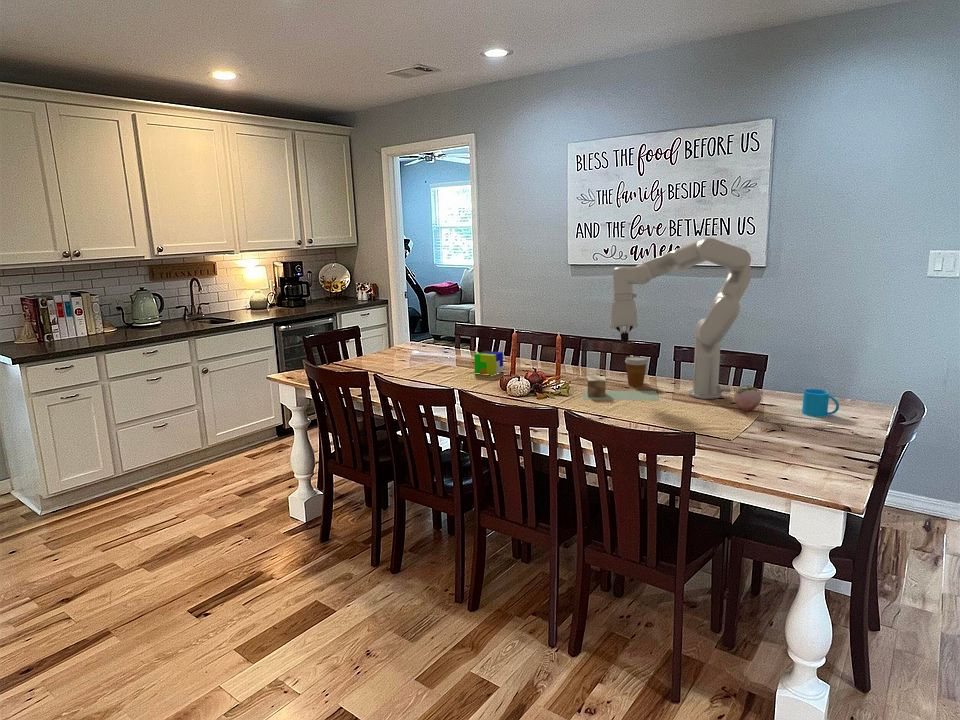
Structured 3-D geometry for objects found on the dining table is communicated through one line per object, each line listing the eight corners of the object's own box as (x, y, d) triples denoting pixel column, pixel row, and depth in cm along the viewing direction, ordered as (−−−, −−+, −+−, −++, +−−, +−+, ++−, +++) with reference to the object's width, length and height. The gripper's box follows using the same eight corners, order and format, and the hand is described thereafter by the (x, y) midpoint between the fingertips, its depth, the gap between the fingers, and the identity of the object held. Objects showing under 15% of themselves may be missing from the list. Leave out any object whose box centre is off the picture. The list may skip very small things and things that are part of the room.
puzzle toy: (503, 372, 311) (502, 352, 309) (492, 376, 302) (492, 355, 301) (485, 370, 316) (485, 350, 314) (474, 374, 308) (474, 354, 306)
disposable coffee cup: (624, 387, 276) (624, 360, 273) (624, 382, 285) (625, 356, 283) (647, 388, 274) (647, 360, 271) (646, 383, 283) (647, 356, 280)
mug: (798, 413, 232) (799, 391, 231) (807, 409, 238) (809, 387, 236) (833, 420, 224) (835, 397, 222) (842, 415, 229) (844, 393, 227)
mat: (655, 392, 267) (655, 391, 267) (660, 401, 253) (660, 400, 252) (582, 391, 271) (582, 390, 271) (582, 400, 257) (582, 399, 257)
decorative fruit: (747, 407, 242) (749, 381, 240) (764, 412, 234) (766, 386, 232) (727, 410, 238) (729, 384, 236) (743, 416, 231) (745, 389, 229)
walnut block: (587, 376, 266) (587, 392, 267) (588, 380, 259) (587, 396, 260) (604, 376, 265) (604, 392, 266) (605, 380, 258) (605, 397, 259)
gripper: (641, 295, 262) (642, 339, 265) (604, 297, 264) (605, 341, 267) (643, 297, 254) (644, 343, 258) (605, 299, 256) (606, 344, 260)
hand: (624, 342), depth 262 cm, fingers closed
